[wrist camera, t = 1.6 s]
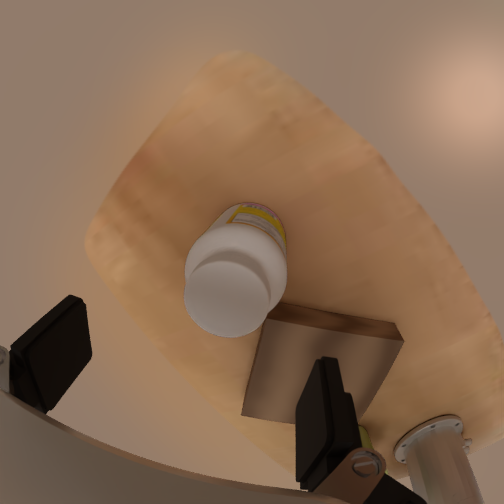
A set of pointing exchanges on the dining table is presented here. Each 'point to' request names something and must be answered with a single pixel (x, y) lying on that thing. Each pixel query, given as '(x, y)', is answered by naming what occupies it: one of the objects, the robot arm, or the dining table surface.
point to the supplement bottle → (236, 271)
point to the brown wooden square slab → (314, 347)
